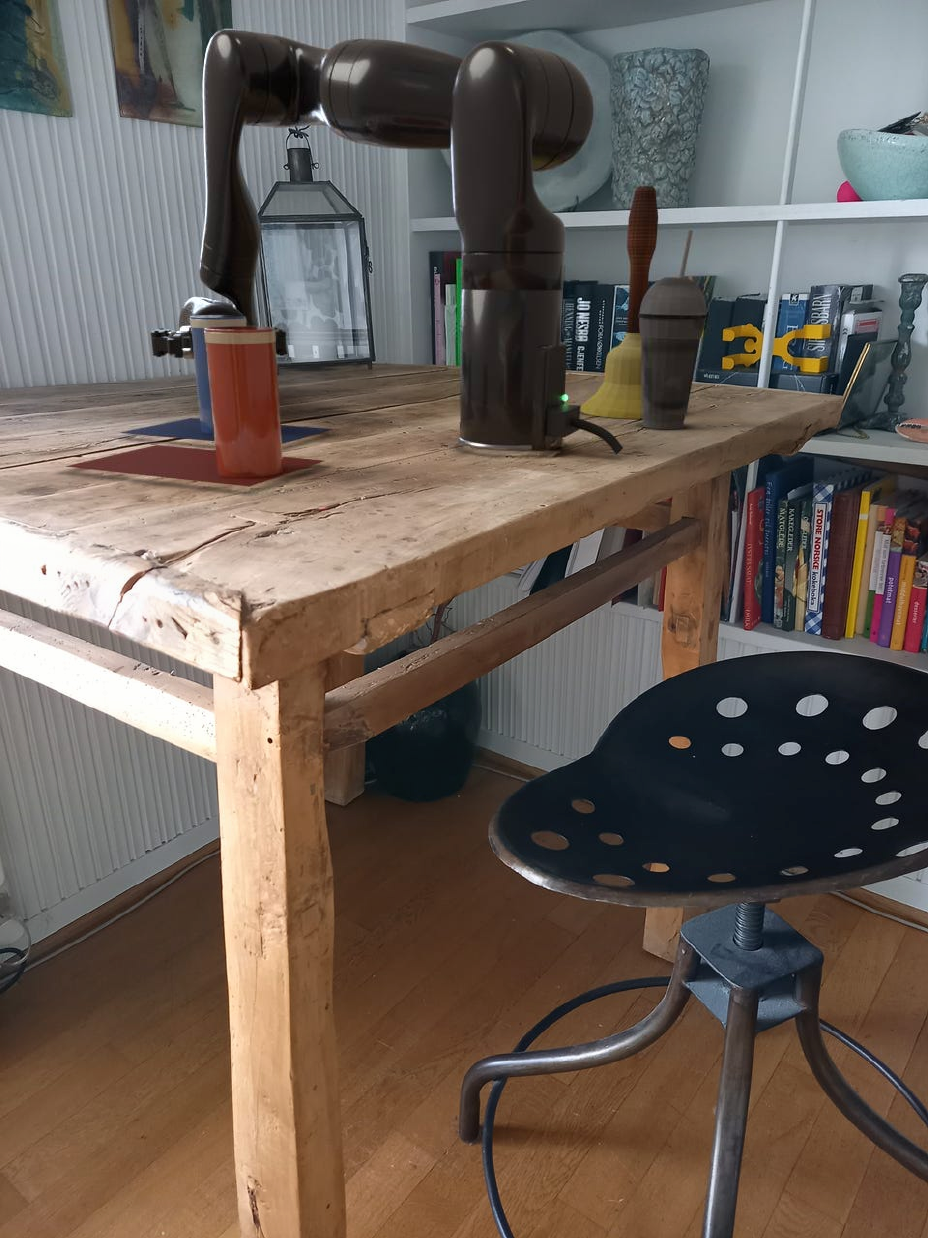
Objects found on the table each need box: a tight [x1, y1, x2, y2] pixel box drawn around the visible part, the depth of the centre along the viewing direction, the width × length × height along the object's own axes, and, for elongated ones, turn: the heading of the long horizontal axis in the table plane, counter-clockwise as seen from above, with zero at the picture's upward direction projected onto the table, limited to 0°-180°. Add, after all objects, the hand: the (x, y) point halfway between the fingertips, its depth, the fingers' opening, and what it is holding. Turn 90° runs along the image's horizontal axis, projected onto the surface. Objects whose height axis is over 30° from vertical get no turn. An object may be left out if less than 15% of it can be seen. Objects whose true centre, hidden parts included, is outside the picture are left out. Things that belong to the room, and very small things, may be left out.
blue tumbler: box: [190, 315, 247, 434], centre depth 89 cm, size 5×5×11 cm
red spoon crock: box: [204, 326, 284, 478], centre depth 71 cm, size 5×5×11 cm
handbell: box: [580, 185, 659, 420], centre depth 106 cm, size 12×12×25 cm
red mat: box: [65, 444, 325, 487], centre depth 76 cm, size 18×11×1 cm, turn 67°
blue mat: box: [119, 417, 334, 445], centre depth 91 cm, size 18×11×1 cm, turn 67°
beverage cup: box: [638, 229, 708, 430], centre depth 96 cm, size 7×7×20 cm
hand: (220, 346), depth 93 cm, fingers open, 8 cm apart
